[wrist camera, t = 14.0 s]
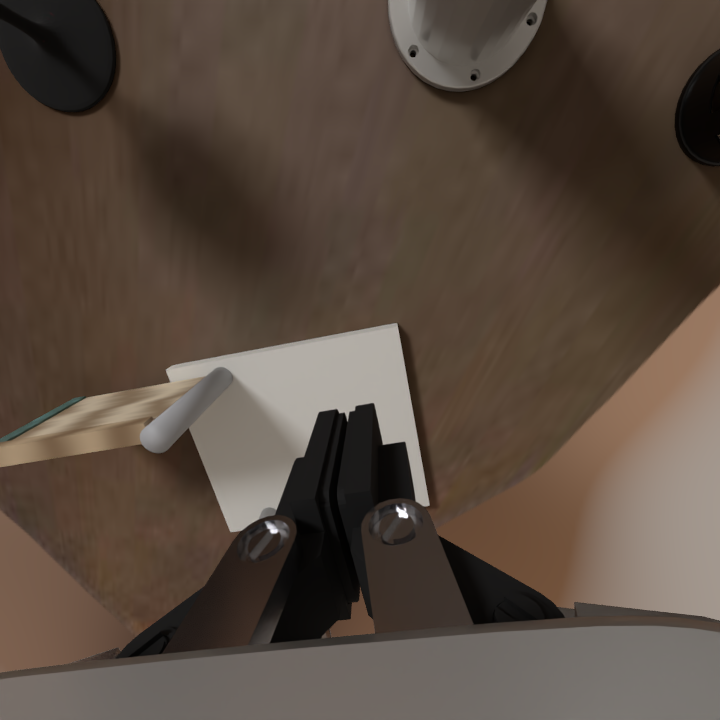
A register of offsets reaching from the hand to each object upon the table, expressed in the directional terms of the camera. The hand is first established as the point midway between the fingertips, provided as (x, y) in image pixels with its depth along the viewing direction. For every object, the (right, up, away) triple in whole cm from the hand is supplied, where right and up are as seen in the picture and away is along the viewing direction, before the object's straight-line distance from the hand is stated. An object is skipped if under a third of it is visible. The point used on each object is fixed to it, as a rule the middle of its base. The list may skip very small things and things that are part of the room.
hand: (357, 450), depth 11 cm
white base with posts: (-6, -6, +33) cm, 35 cm away
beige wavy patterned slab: (-25, -1, +30) cm, 39 cm away
